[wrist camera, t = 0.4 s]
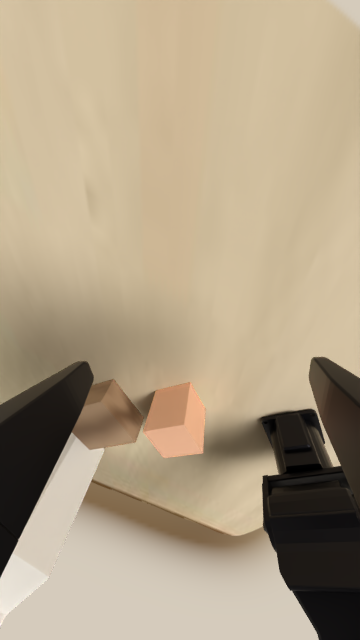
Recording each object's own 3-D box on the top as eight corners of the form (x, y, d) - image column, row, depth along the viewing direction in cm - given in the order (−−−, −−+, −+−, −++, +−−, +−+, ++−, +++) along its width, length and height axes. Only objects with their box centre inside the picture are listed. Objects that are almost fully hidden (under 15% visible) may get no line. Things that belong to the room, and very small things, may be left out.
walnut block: (144, 416, 33) (135, 442, 30) (101, 425, 36) (89, 450, 32) (114, 377, 30) (101, 401, 27) (70, 390, 33) (53, 413, 29)
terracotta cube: (205, 408, 30) (202, 453, 25) (172, 414, 32) (163, 458, 27) (190, 381, 28) (184, 424, 23) (155, 390, 30) (142, 431, 25)
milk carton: (85, 421, 36) (-27, 618, 19) (105, 449, 39) (23, 637, 22) (49, 424, 37) (-80, 605, 21) (71, 450, 41) (-27, 625, 24)
